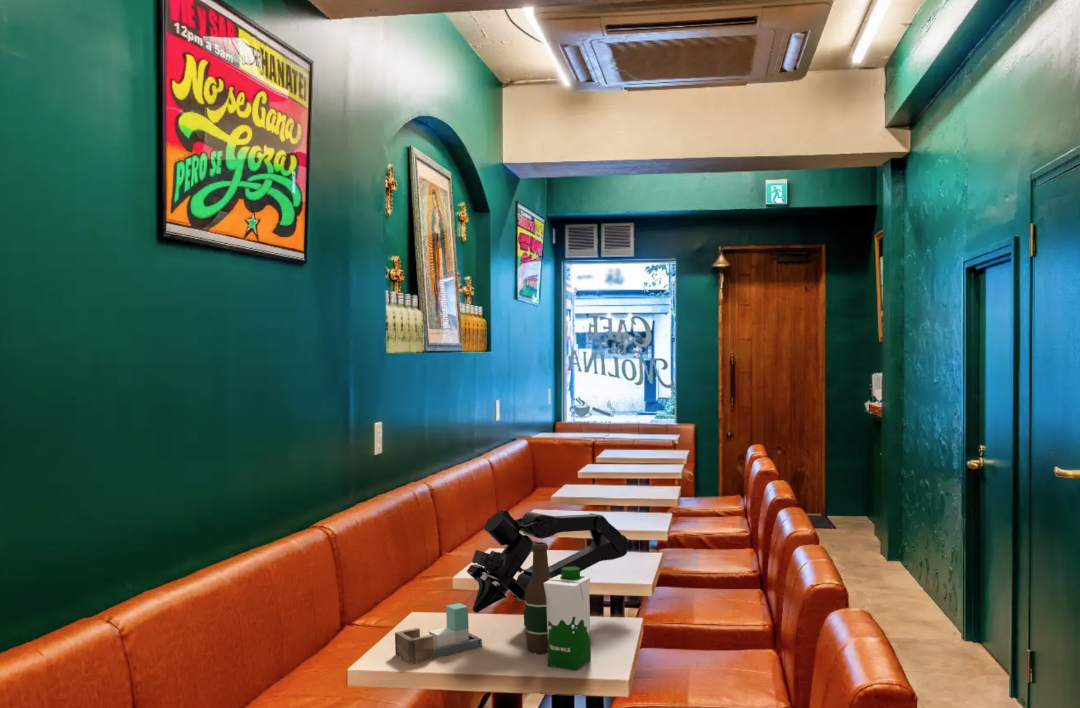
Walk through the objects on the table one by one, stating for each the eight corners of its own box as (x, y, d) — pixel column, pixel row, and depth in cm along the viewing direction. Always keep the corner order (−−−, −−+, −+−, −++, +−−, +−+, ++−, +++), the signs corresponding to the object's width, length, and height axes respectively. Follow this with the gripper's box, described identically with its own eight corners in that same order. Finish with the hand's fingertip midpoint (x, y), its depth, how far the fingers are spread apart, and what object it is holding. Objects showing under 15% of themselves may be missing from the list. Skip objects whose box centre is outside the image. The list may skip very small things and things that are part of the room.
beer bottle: (556, 655, 194) (553, 546, 194) (522, 654, 195) (519, 546, 196) (562, 644, 202) (559, 539, 202) (529, 643, 203) (526, 539, 203)
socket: (418, 649, 201) (417, 627, 201) (433, 658, 194) (433, 636, 194) (395, 654, 198) (394, 632, 198) (410, 664, 191) (410, 641, 191)
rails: (466, 639, 208) (466, 631, 208) (482, 646, 201) (481, 639, 201) (418, 649, 201) (418, 641, 201) (433, 658, 194) (433, 650, 194)
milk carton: (596, 659, 191) (593, 567, 191) (578, 673, 183) (575, 577, 183) (560, 654, 195) (557, 564, 195) (541, 667, 187) (538, 573, 187)
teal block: (460, 641, 205) (459, 603, 205) (468, 645, 201) (467, 606, 202) (429, 648, 200) (428, 609, 200) (437, 653, 197) (436, 613, 197)
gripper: (472, 531, 216) (433, 583, 209) (512, 542, 200) (471, 599, 194) (500, 558, 220) (463, 610, 214) (542, 571, 204) (503, 628, 198)
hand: (474, 611), depth 205 cm, fingers closed
